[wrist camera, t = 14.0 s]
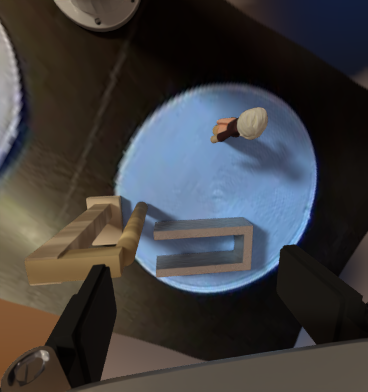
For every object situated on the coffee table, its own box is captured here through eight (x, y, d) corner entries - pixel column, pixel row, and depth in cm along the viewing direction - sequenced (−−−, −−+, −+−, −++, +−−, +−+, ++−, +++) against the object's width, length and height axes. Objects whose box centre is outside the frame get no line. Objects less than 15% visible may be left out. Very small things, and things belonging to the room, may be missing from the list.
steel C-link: (242, 216, 37) (253, 225, 33) (240, 256, 39) (250, 269, 35) (154, 221, 36) (153, 231, 31) (157, 262, 37) (156, 277, 33)
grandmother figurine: (235, 106, 33) (279, 79, 20) (248, 126, 34) (297, 112, 21) (197, 135, 33) (218, 126, 21) (210, 154, 34) (237, 156, 22)
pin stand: (89, 197, 34) (3, 251, 16) (147, 194, 34) (130, 243, 16) (95, 241, 35) (24, 336, 17) (150, 238, 36) (137, 325, 18)
